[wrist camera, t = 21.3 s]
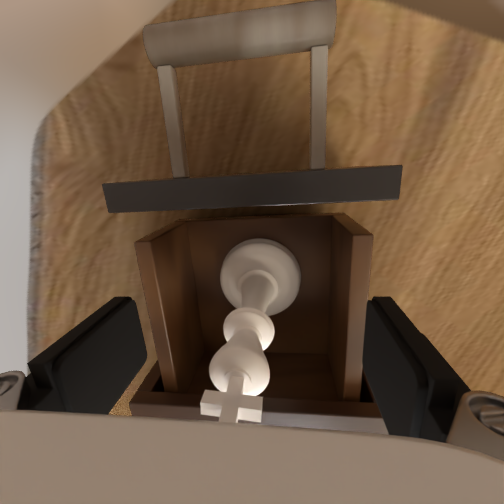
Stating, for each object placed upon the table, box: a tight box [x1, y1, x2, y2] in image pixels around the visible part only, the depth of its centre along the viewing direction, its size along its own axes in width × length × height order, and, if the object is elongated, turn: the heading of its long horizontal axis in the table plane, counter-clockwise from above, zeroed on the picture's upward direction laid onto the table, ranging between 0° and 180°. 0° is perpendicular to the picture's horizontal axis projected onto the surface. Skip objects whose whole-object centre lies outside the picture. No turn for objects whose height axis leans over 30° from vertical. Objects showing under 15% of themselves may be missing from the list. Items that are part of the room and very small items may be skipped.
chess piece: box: [200, 238, 301, 423], centre depth 11 cm, size 5×5×10 cm
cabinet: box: [129, 360, 389, 435], centre depth 18 cm, size 14×13×8 cm
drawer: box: [102, 0, 403, 402], centre depth 13 cm, size 18×11×6 cm, turn 4°
